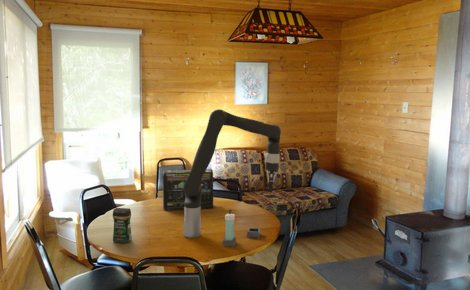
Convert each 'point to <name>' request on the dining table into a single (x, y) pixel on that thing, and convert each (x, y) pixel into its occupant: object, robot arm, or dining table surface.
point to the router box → (175, 192)
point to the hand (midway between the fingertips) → (270, 190)
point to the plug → (229, 226)
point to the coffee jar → (122, 225)
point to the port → (253, 233)
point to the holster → (229, 242)
